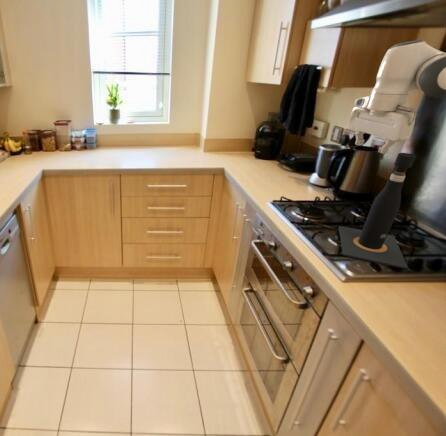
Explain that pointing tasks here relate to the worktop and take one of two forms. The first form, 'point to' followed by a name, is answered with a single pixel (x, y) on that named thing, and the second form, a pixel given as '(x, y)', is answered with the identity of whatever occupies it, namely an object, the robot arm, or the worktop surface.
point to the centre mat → (385, 255)
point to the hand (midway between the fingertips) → (369, 148)
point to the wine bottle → (385, 205)
